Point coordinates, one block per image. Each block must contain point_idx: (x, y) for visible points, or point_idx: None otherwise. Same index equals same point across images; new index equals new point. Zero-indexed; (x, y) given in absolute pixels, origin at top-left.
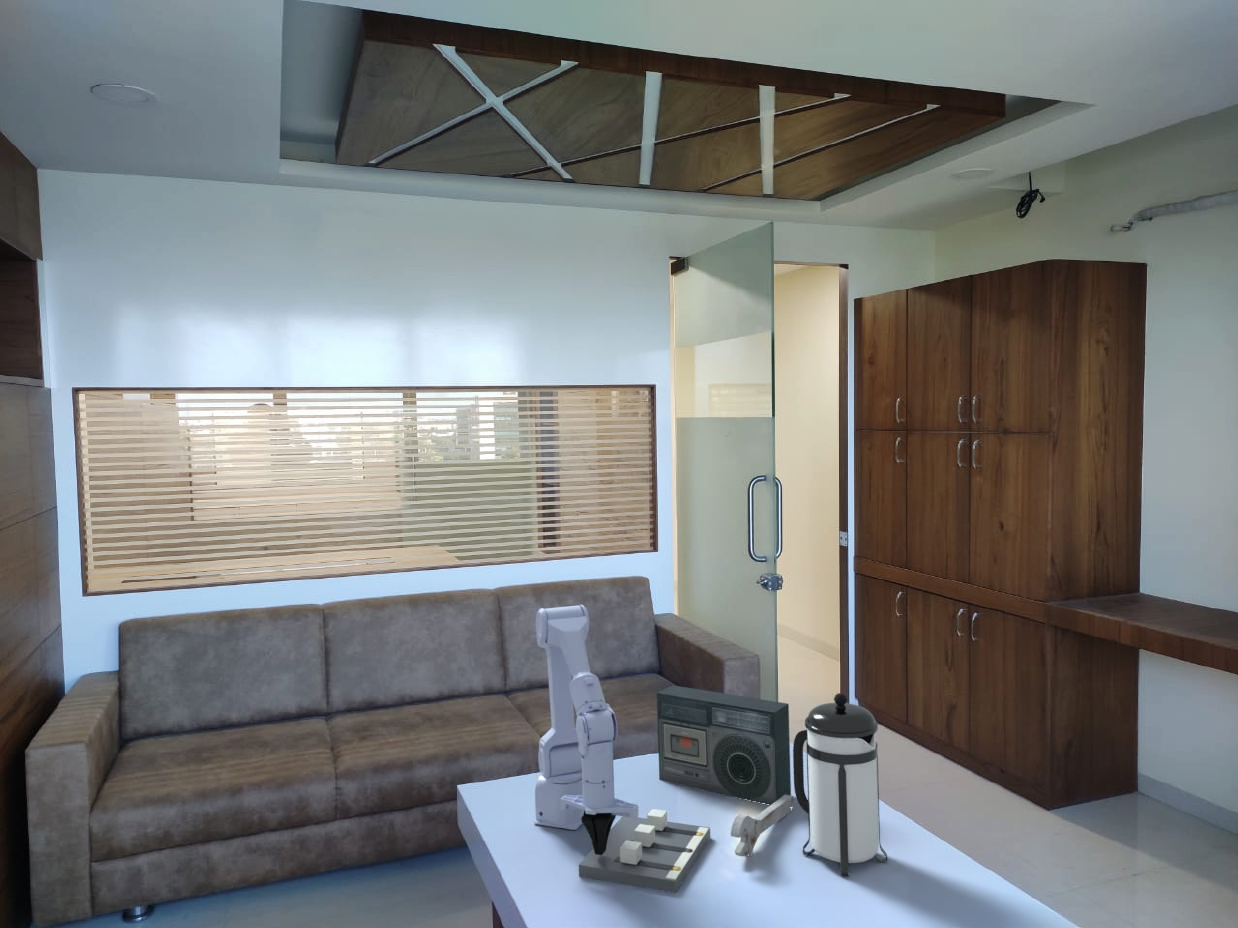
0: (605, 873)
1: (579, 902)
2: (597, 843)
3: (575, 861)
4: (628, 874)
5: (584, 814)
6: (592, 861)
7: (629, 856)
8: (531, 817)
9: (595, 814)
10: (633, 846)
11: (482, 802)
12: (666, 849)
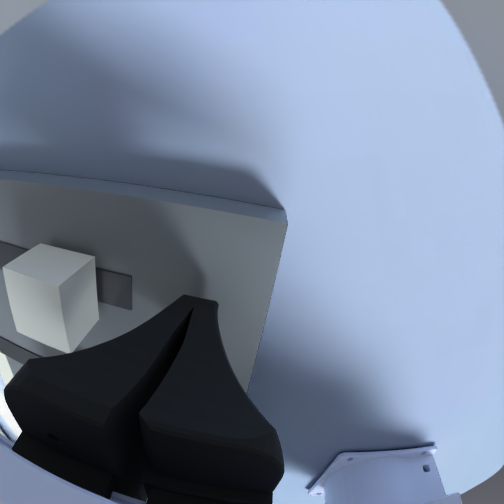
0: (151, 193)
1: (228, 9)
2: (180, 319)
3: (322, 318)
4: (56, 184)
5: (260, 497)
6: (225, 263)
7: (44, 260)
8: (435, 458)
9: (150, 488)
10: (21, 297)
11: (497, 455)
12: (29, 351)
